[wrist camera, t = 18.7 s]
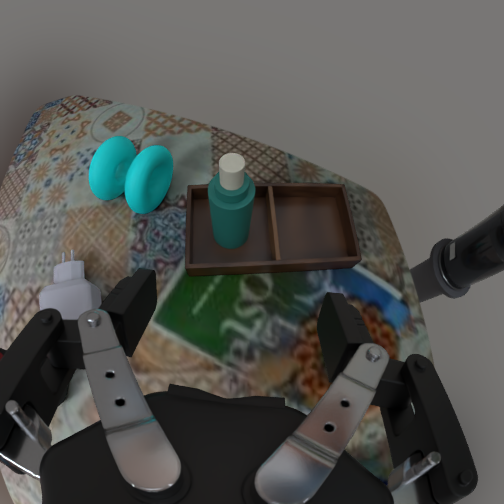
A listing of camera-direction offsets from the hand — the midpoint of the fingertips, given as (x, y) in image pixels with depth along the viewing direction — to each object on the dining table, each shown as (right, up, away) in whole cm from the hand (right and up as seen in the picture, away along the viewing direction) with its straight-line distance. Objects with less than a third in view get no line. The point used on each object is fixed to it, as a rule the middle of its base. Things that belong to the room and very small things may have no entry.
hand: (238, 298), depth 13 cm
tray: (+3, +5, +28) cm, 28 cm away
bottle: (-2, +5, +26) cm, 27 cm away
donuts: (-17, +12, +29) cm, 35 cm away
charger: (-25, -6, +22) cm, 33 cm away
